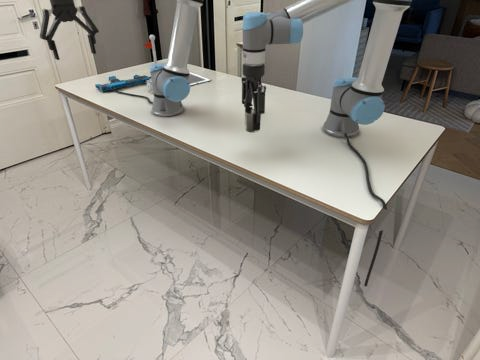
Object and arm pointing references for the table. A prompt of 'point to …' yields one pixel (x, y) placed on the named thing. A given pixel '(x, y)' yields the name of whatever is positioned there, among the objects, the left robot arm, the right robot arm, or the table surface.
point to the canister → (249, 120)
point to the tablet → (196, 79)
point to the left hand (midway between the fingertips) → (76, 56)
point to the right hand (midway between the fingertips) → (252, 126)
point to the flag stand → (152, 46)
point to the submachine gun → (122, 82)
